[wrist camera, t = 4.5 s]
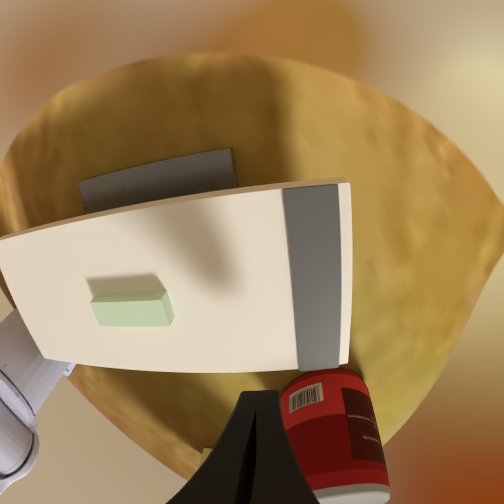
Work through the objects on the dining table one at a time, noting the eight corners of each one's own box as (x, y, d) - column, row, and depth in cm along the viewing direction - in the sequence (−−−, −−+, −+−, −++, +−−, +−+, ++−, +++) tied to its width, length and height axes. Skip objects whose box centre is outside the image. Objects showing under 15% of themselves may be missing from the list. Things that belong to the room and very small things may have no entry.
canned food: (267, 414, 24) (259, 521, 14) (296, 357, 21) (299, 493, 11) (342, 423, 25) (353, 521, 15) (382, 370, 21) (414, 486, 11)
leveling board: (56, 343, 18) (39, 365, 16) (8, 232, 14) (-18, 247, 12) (342, 341, 15) (350, 374, 13) (340, 175, 12) (355, 186, 10)
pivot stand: (133, 331, 22) (113, 363, 18) (84, 180, 17) (48, 194, 13) (260, 328, 20) (256, 366, 17) (231, 147, 16) (218, 153, 12)
